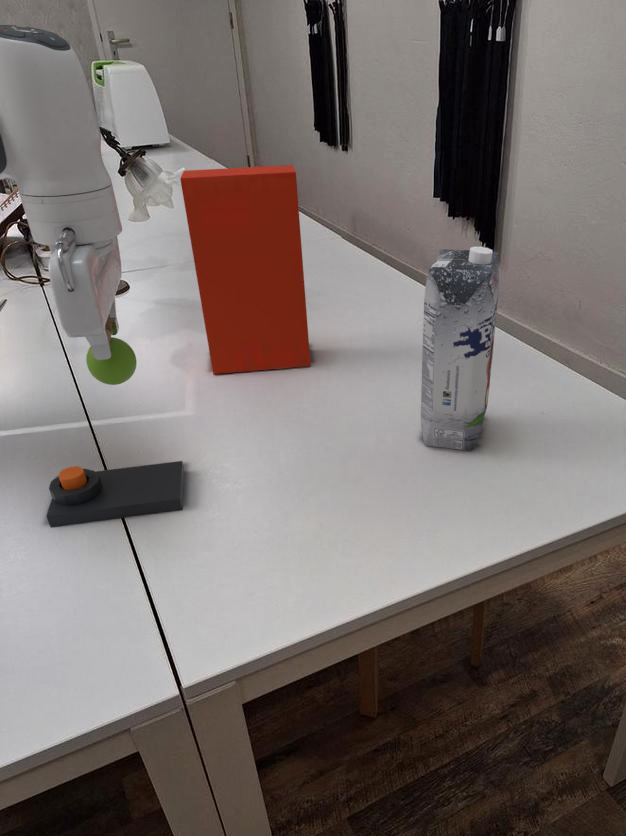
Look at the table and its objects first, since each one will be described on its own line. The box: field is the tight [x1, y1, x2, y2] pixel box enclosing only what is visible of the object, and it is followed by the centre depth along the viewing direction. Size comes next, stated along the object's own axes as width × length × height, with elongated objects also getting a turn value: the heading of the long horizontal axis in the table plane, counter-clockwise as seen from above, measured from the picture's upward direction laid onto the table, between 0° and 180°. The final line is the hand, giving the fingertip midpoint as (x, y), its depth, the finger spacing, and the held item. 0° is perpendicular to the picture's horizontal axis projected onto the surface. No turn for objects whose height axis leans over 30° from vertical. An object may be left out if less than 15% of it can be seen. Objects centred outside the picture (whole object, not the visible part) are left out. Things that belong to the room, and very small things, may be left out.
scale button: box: [58, 465, 87, 490], centre depth 82 cm, size 3×3×2 cm
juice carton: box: [420, 246, 500, 452], centre depth 89 cm, size 9×10×27 cm
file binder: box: [179, 164, 312, 375], centre depth 110 cm, size 8×17×32 cm, turn 99°
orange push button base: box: [46, 460, 186, 529], centre depth 84 cm, size 16×9×4 cm, turn 101°
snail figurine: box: [85, 312, 138, 386], centre depth 74 cm, size 5×6×12 cm
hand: (108, 344), depth 75 cm, fingers closed on snail figurine, 5 cm apart
